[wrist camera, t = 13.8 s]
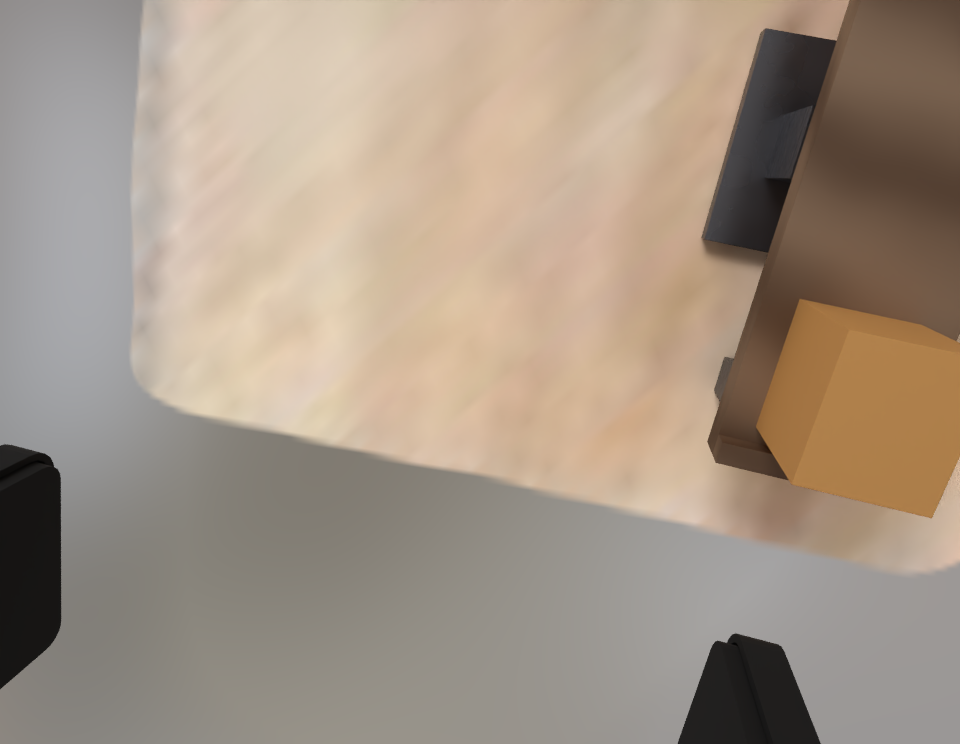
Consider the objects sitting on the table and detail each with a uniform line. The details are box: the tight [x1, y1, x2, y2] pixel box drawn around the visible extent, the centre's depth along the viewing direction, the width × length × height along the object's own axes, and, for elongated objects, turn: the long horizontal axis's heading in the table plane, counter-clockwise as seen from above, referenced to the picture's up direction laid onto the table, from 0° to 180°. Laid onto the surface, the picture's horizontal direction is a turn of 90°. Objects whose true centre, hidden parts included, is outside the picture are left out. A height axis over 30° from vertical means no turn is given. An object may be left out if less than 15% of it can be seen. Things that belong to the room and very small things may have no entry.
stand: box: [702, 29, 837, 401], centre depth 32 cm, size 18×12×6 cm, turn 169°
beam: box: [707, 0, 960, 480], centre depth 27 cm, size 28×8×2 cm, turn 169°
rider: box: [756, 299, 960, 518], centre depth 27 cm, size 6×5×6 cm
